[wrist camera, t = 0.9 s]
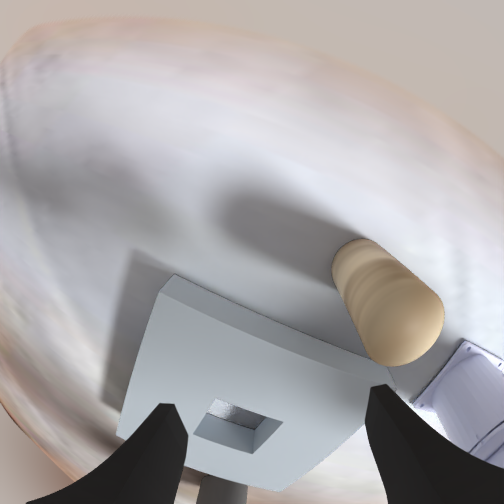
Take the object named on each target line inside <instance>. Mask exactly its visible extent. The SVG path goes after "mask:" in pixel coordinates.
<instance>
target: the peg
mask: <svg viewBox="0 0 504 504" xmlns="http://www.w3.org/2000/svg"><path fill="white" fill-rule="evenodd" d="M331 274H332V278H333V281H334V283H335V285H336V287H337V289H338V291H339V293H340V295H341V298H342V300H343V302H344V304H345V306H346V308H347V310H348V312H349V315H350V317H351V319H352V321H353V323H354V325H355V328H356V330H357V332H358V334H359V336H360V339H361V341H362V343H363V345H364V348H365V350H366V352H367V354H368V355H369V357H370V358H371V359H372V360H373V361H375V362H376V363H378V364H380V365H383V366H392V367H394V366H401V365H405V364H408V363H410V362H412V361H414V360H416V359H418V358H419V357H421V356H422V355H423V354H424V353H426V352H427V351H428V350H429V349H430V348H431V347H432V345H433V344H434V343H435V341H436V340H437V338H438V336H439V334H440V332H441V330H442V327H443V323H444V307H443V303H442V301H441V299H440V298H439V296H438V295H437V294H436V293H435V292H434V291H433V290H431V289H430V288H429V287H428V286H427V285H426V284H425V283H424V282H422V281H421V280H420V279H419V278H418V277H417V276H416V275H414V274H413V273H412V272H411V271H410V270H409V269H407V268H406V267H405V266H404V265H403V264H402V263H400V262H399V261H398V260H397V259H396V258H394V257H393V256H392V255H391V254H390V253H388V252H387V251H386V250H385V249H383V248H382V247H381V246H380V245H378V244H377V243H376V242H374V241H372V240H368V239H356V240H353V241H350V242H348V243H347V244H345V245H344V246H342V247H341V248H340V249H339V251H338V252H337V253H336V255H335V257H334V259H333V262H332V267H331Z"/></svg>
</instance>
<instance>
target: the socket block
mask: <svg viewBox="0 0 504 504" xmlns="http://www.w3.org/2000/svg"><path fill="white" fill-rule="evenodd" d="M382 384H387V385H388V386H389V387H390V388H391V389H392V390H393V391H394V392H395V391H396V390H397V387H396V385H395V383H394V381H393V379H392V376H391V374H390V372H389V370H388V368H387V366H383V365H380V364H378V363H376V362H375V361H372V360H370V359H367V358H364V357H362V356H359V355H357V354H354V353H351V352H349V351H346V350H344V349H341V348H339V347H336V346H334V345H331V344H329V343H326V342H324V341H321V340H319V339H316V338H314V337H312V336H309V335H307V334H304V333H302V332H300V331H297V330H295V329H293V328H290V327H288V326H286V325H283V324H281V323H279V322H276V321H274V320H272V319H269V318H267V317H265V316H263V315H260V314H258V313H256V312H254V311H251V310H249V309H247V308H245V307H243V306H240V305H238V304H236V303H234V302H232V301H230V300H227V299H225V298H223V297H221V296H219V295H217V294H215V293H213V292H210V291H208V290H206V289H204V288H202V287H200V286H198V285H196V284H194V283H192V282H190V281H188V280H186V279H184V278H181V277H179V276H177V275H175V274H174V275H173V276H172V277H171V278H170V279H169V280H168V281H167V283H166V284H165V285H164V286H163V287H162V288H161V289H160V291H159V292H158V295H157V298H156V301H155V304H154V306H153V309H152V312H151V315H150V318H149V321H148V324H147V327H146V330H145V333H144V336H143V340H142V343H141V346H140V349H139V352H138V355H137V359H136V362H135V365H134V369H133V372H132V376H131V379H130V383H129V386H128V390H127V393H126V397H125V401H124V404H123V408H122V412H121V416H120V420H119V424H118V428H117V432H116V435H117V436H119V437H121V438H122V439H124V440H127V439H128V438H129V437H130V436H131V435H132V434H133V433H134V432H135V430H136V429H137V428H138V427H139V426H140V425H141V424H142V423H143V421H144V420H145V419H146V418H147V417H148V416H149V414H150V413H151V412H152V411H153V410H154V409H155V408H156V406H157V405H158V404H159V403H171V404H175V406H176V409H177V411H178V413H179V415H180V418H181V420H182V422H183V424H184V426H185V429H186V431H187V433H188V435H189V437H188V446H187V453H186V459H185V463H184V466H187V467H189V468H192V469H195V470H198V471H201V472H204V473H207V474H210V475H213V476H216V477H220V478H223V479H227V480H230V481H234V482H238V483H241V484H245V485H249V486H254V487H258V488H263V489H267V490H272V491H278V492H281V491H282V490H284V489H285V488H287V487H288V486H290V485H291V484H292V483H294V482H295V481H297V480H298V479H299V478H301V477H302V476H303V475H305V474H306V473H307V472H309V471H310V470H311V469H313V468H314V467H315V466H316V465H318V464H319V463H320V462H322V461H323V460H324V459H325V458H326V457H328V456H329V455H330V454H331V453H332V452H334V451H335V450H336V449H337V448H338V447H339V446H341V445H342V444H343V443H344V442H345V441H346V440H347V439H349V438H350V437H351V436H352V435H353V434H354V433H355V432H356V431H357V430H358V429H359V428H360V427H361V426H362V425H363V424H365V416H366V410H367V405H368V400H369V394H370V388H371V387H373V386H378V385H382ZM215 399H219V400H222V401H224V402H227V403H229V404H232V405H235V406H237V407H240V408H243V409H246V410H248V411H251V412H254V413H257V414H260V415H263V416H266V418H265V419H264V420H263V421H262V422H261V423H260V425H259V426H258V427H257V428H256V429H255V430H252V429H249V428H246V427H243V426H240V425H237V424H234V423H232V422H229V421H226V420H223V419H221V418H218V417H215V416H213V415H210V414H208V413H207V411H208V410H209V408H210V407H211V405H212V403H213V402H214V400H215Z"/></svg>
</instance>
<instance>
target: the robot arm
mask: <svg viewBox="0 0 504 504" xmlns="http://www.w3.org/2000/svg"><path fill="white" fill-rule="evenodd" d="M503 369H504V360H502V359H500V358H498V357H496V356H494V355H493V354H491V353H489V352H487V351H485V350H483V349H481V348H480V347H478V346H476V345H474V344H472V343H470V342H468V341H464V342H463V343H462V344H461V346H460V347H459V348H458V350H457V351H456V352H455V354H454V355H453V356H452V358H451V359H450V360H449V362H448V363H447V364H446V365H445V367H444V368H443V369H442V370H441V372H440V373H439V374H438V375H437V377H436V378H435V379H434V380H433V381H432V382H431V384H430V385H429V386H428V387H427V388H426V389H425V391H424V392H423V393H422V394H421V395H420V396H419V397H418V398H417V399H416V401H415V402H414V403H413V406H414V408H417V409H421V410H426V411H430V412H435V413H436V414H437V416H438V418H439V420H440V422H441V424H442V426H443V428H444V429H445V431H446V433H447V436H448V438H449V440H450V441H449V440H447V439H446V438H445V437H443V436H442V435H441V434H439V433H438V432H437V431H436V430H434V429H433V428H432V427H431V426H429V425H428V424H427V423H426V422H425V421H424V420H423V419H422V418H420V417H419V416H418V415H417V414H416V413H415V412H414V411H413V410H412V409H411V408H410V407H409V406H408V405H407V404H406V403H405V402H404V401H403V400H402V399H401V398H400V397H399V396H398V395H397V394H396V393H395V392H394V391H393V390H392V389H391V388H390V387H389V386H388V385H387V384H382V385H378V386H373V387H371V388H370V394H369V400H368V405H367V410H366V416H365V426H366V431H367V435H368V440H369V444H370V447H371V450H372V453H373V456H374V458H375V461H376V464H377V467H378V470H379V473H380V476H381V479H382V481H383V484H384V488H385V491H386V495H387V500H388V504H504V374H503V372H502V370H503ZM188 437H189V435H188V433H187V431H186V429H185V426H184V424H183V422H182V420H181V418H180V415H179V413H178V411H177V409H176V406H175V404H171V403H159V404H158V405H157V406H156V408H155V409H154V410H153V411H152V412H151V413H150V414H149V416H148V417H147V418H146V419H145V420H144V421H143V423H142V424H141V425H140V426H139V427H138V428H137V429H136V430H135V432H134V433H133V434H132V435H131V436H130V437H129V438H128V439H127V440H126V441H125V442H124V443H123V444H122V445H121V446H120V447H119V448H118V449H117V450H116V451H115V452H114V453H113V454H112V455H111V456H110V457H109V458H108V459H106V460H105V461H104V462H103V463H102V464H100V465H99V466H98V467H97V468H95V469H94V470H93V471H91V472H90V473H88V474H87V475H85V476H84V477H82V478H81V479H79V480H77V481H76V482H74V483H73V484H71V485H69V486H67V487H65V488H63V489H61V490H59V491H57V492H55V493H52V494H50V495H47V496H45V497H42V498H39V499H36V500H32V501H29V502H27V503H26V504H174V500H175V496H176V493H177V489H178V485H179V482H180V478H181V474H182V471H183V467H184V463H185V459H186V453H187V446H188Z"/></svg>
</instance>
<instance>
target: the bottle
mask: <svg viewBox="0 0 504 504" xmlns="http://www.w3.org/2000/svg"><path fill="white" fill-rule="evenodd" d="M247 489H248V486H247V485H245V484H241V483H238V482H234V481H230V480H227V479H223V478H220V477H216V476H213V475H209V476H206V477H204V478H203V479H202V482H201V485H200V489H199V494H198V498H197V502H196V504H246V501H247Z"/></svg>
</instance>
